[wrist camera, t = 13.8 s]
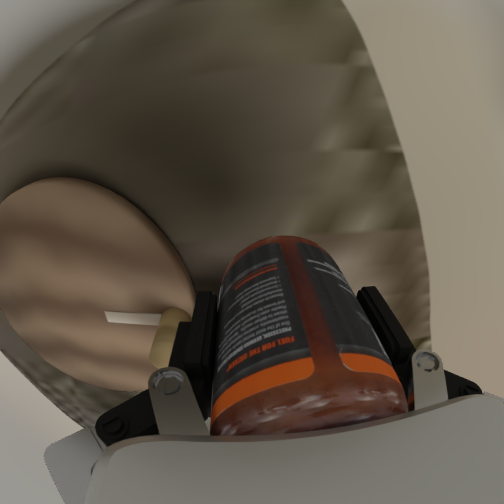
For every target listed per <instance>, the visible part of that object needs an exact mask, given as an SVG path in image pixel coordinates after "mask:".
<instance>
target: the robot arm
mask: <svg viewBox="0 0 504 504" xmlns="http://www.w3.org/2000/svg"><path fill="white" fill-rule="evenodd" d="M356 298H357V300H358V302H359V303H360V305H361V307H362V309H363V310H364V312H365V314H366V316H367V318H368V319H369V321H370V323H371V325H372V327H373V329H374V331H375V332H376V335H377V337H378V338H379V340H380V342H381V344H382V346H383V348H384V350H385V352H386V354H387V356H388V358H389V360H390V361H391V364H392V366H393V369H394V371H395V372H396V374H397V376H398V379H399V381H400V383H401V385H402V387H403V390H404V392H405V396H406V399H407V403H408V411H409V412H406V413H403V414H399V415H395V416H391V417H387V418H383V419H379V420H374V421H369V422H365V423H360V424H354V425H349V426H343V427H337V428H330V429H323V430H316V431H307V432H298V433H287V434H273V435H251V436H210V421H211V398H212V383H213V381H212V379H213V369H214V353H215V340H216V327H217V316H218V309H217V297H216V295H212V293H211V291H198V293H197V297H196V302H195V306H194V311H193V315H192V320H191V322H188V321H180V322H179V324H178V328H177V332H176V336H175V340H174V344H173V348H172V352H171V356H170V360H169V364H168V367H164V368H161V369H158V370H157V371H155V372H153V374H152V375H151V376H150V378H149V380H148V389H147V390H145V391H143V392H141V393H140V394H138V395H136V396H134V397H133V398H131V399H129V400H127V401H126V402H124V403H122V404H120V405H118V406H117V407H115V408H113V409H111V410H109V411H107V412H106V413H104V414H103V415H101V416H100V417H99V419H98V420H97V422H96V425H95V426H94V427H92V428H89V427H86V428H84V429H82V430H80V431H78V432H76V433H74V434H72V435H70V436H67V437H66V438H63V439H61V440H59V441H57V442H55V443H53V444H51V445H49V446H48V447H47V448H46V450H45V453H44V460H45V463H46V465H47V468H48V470H49V472H50V474H51V477H52V479H53V481H54V483H55V485H56V487H57V489H58V491H59V493H60V495H61V497H62V499H63V500H64V502H65V504H504V399H503V398H501V397H498V396H495V395H493V394H490V393H488V392H484V393H483V394H482V390H481V389H480V387H479V386H478V385H477V384H476V383H474V382H472V381H470V380H467V379H465V378H463V377H460V376H458V375H455V374H453V373H451V372H448V371H446V370H444V369H443V363H442V361H441V358H440V357H439V356H438V355H437V354H436V353H434V352H432V351H430V350H426V349H421V350H418V351H416V349H415V347H414V346H413V344H412V342H411V341H410V339H409V337H408V336H407V334H406V333H405V331H404V329H403V328H402V326H401V325H400V323H399V321H398V320H397V318H396V317H395V315H394V314H393V312H392V311H391V309H390V308H389V306H388V305H387V303H386V302H385V300H384V299H383V297H382V296H381V294H380V293H379V291H378V290H377V288H376V287H375V286H369V287H362V289H361V290H359V291H358V293H357V297H356Z"/></svg>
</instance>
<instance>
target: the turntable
mask: <svg viewBox="0 0 504 504" xmlns="http://www.w3.org/2000/svg"><path fill="white" fill-rule="evenodd" d="M195 302H196V293H195V289H194V286H193V284H192V281H191V278H190V275H189V273H188V271H187V269H186V267H185V265H184V263H183V261H182V259H181V258H180V256H179V255H178V253H177V252H176V250H175V249H174V247H173V246H172V244H171V243H170V241H169V240H168V239H167V238H166V237H165V235H164V234H163V233H162V232H161V231H160V229H159V228H158V227H157V226H156V225H155V224H154V223H153V222H152V221H151V220H150V219H149V218H148V217H147V216H146V215H145V214H144V213H143V212H141V211H140V210H139V209H138V208H136V207H135V206H134V205H132V204H131V203H130V202H128V201H127V200H126V199H124V198H122V197H121V196H119V195H117V194H116V193H114V192H112V191H111V190H109V189H107V188H104V187H102V186H100V185H97V184H95V183H93V182H89V181H85V180H81V179H78V178H70V177H50V178H45V179H41V180H38V181H34V182H33V183H31V184H29V185H27V186H25V187H23V188H21V189H19V190H18V191H16V192H14V193H12V194H10V195H9V196H8V197H7V198H6V199H5V200H4V201H3V202H2V203H1V204H0V308H1V310H2V312H3V314H4V315H5V317H6V319H7V320H8V322H9V323H10V325H11V326H12V327H13V329H14V330H15V331H16V332H17V334H18V335H19V336H20V337H21V338H22V339H23V341H24V342H25V343H26V344H27V345H28V346H29V347H30V348H31V349H32V350H33V351H34V352H36V353H37V354H38V355H39V356H40V357H42V358H43V359H44V360H45V361H47V362H48V363H50V364H51V365H52V366H54V367H55V368H57V369H59V370H60V371H62V372H64V373H65V374H67V375H69V376H71V377H73V378H75V379H78V380H80V381H82V382H85V383H87V384H91V385H94V386H97V387H101V388H105V389H110V390H117V391H142V390H147V389H148V380H149V378H150V376H151V375H152V374H153V372H155V371H157V370H158V369H161V368H164V367H168V364H169V360H170V356H171V352H172V348H173V344H174V340H175V336H176V332H177V328H178V324H179V322H180V321H188V322H191V320H192V315H193V311H194V306H195Z"/></svg>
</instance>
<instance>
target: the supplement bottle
mask: <svg viewBox="0 0 504 504" xmlns="http://www.w3.org/2000/svg"><path fill="white" fill-rule="evenodd" d="M212 381H213V383H212V398H211V421H210V436H251V435H273V434H287V433H298V432H307V431H316V430H323V429H330V428H337V427H343V426H349V425H354V424H360V423H365V422H369V421H374V420H379V419H383V418H387V417H391V416H395V415H399V414H403V413H406V412H409V411H408V403H407V399H406V396H405V392H404V390H403V387H402V385H401V383H400V381H399V379H398V376H397V374H396V372H395V371H394V369H393V366H392V364H391V361H390V360H389V358H388V356H387V354H386V352H385V350H384V348H383V346H382V344H381V342H380V340H379V338H378V337H377V335H376V332H375V331H374V329H373V327H372V325H371V323H370V321H369V319H368V318H367V316H366V314H365V312H364V310H363V309H362V307H361V305H360V303H359V302H358V300H357V298H356V296H355V295H354V293H353V291H352V289H351V288H350V286H349V284H348V282H347V281H346V279H345V277H344V275H343V274H342V272H341V271H340V269H339V267H338V265H337V264H336V262H335V261H334V260H333V259H332V257H331V256H330V255H329V254H328V253H327V252H326V251H325V250H324V249H323V248H322V247H321V246H319V245H318V244H316V243H314V242H312V241H310V240H307V239H305V238H301V237H295V236H275V237H268V238H265V239H262V240H259V241H257V242H255V243H253V244H251V245H249V246H248V247H246V248H245V249H243V250H242V251H241V252H240V253H238V254H237V255H236V256H235V257H234V258H233V260H232V261H231V262H230V264H229V265H228V267H227V269H226V271H225V273H224V276H223V279H222V283H221V288H220V294H219V306H218V316H217V327H216V340H215V353H214V369H213V379H212Z"/></svg>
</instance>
